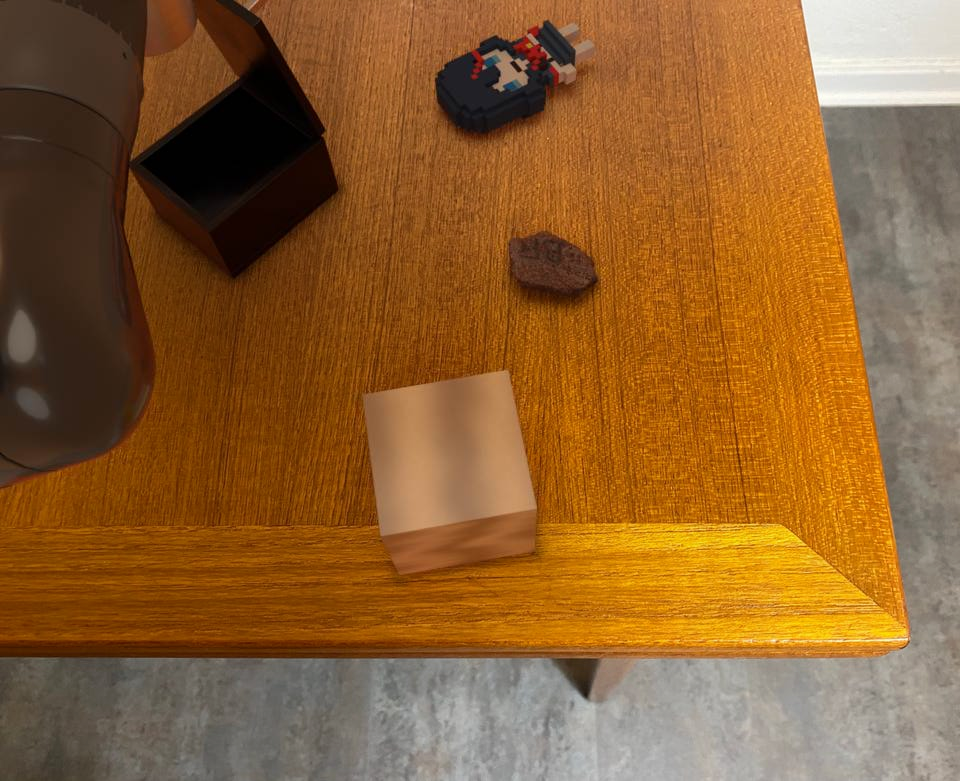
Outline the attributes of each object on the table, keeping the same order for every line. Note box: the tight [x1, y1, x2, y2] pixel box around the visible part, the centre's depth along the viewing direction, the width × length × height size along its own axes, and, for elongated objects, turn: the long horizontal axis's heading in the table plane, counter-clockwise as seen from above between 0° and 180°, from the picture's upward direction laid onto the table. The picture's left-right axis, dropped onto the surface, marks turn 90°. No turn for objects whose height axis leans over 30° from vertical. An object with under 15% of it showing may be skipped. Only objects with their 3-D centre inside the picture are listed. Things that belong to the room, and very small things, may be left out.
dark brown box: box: [129, 77, 340, 280], centre depth 76 cm, size 13×11×7 cm
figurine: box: [434, 19, 596, 135], centre depth 82 cm, size 9×4×15 cm
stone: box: [507, 230, 599, 299], centre depth 73 cm, size 7×7×3 cm
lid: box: [192, 0, 327, 137], centre depth 68 cm, size 13×11×5 cm
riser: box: [362, 369, 538, 576], centre depth 62 cm, size 10×10×10 cm
